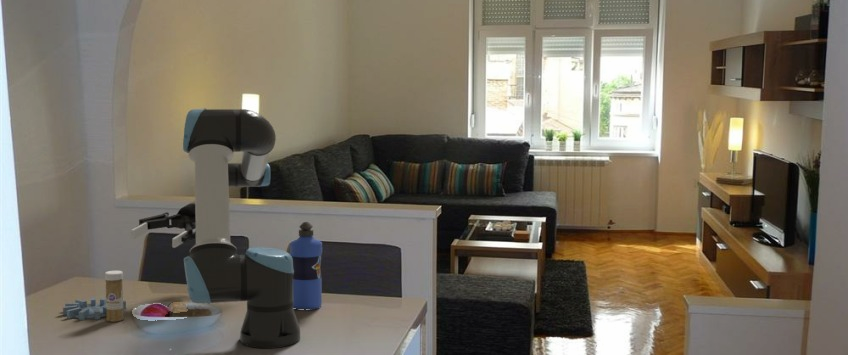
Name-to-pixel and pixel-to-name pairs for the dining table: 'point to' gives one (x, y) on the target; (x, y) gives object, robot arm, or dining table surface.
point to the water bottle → (306, 269)
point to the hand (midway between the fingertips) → (152, 239)
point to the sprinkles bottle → (114, 296)
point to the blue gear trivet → (87, 309)
